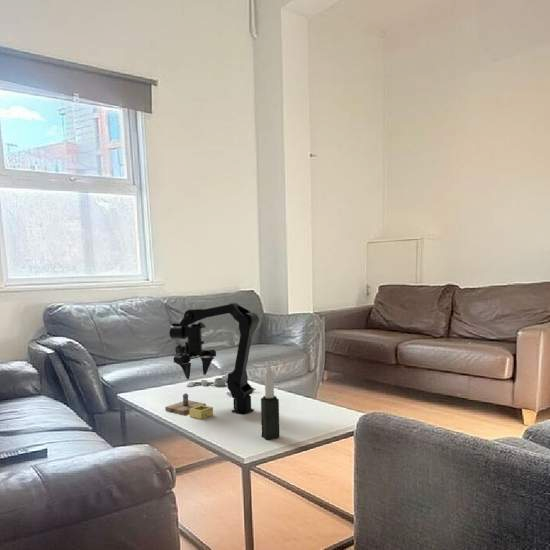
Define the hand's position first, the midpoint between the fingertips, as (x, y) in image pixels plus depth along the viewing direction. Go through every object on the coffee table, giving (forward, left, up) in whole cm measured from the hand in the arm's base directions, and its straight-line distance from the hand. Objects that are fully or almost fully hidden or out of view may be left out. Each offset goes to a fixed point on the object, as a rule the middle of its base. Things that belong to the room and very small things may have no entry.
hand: (196, 376), depth 199 cm
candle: (-47, +12, -13) cm, 50 cm away
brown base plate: (+2, +5, -13) cm, 13 cm away
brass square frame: (-10, +8, -13) cm, 18 cm away
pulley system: (+22, -34, -13) cm, 42 cm away
